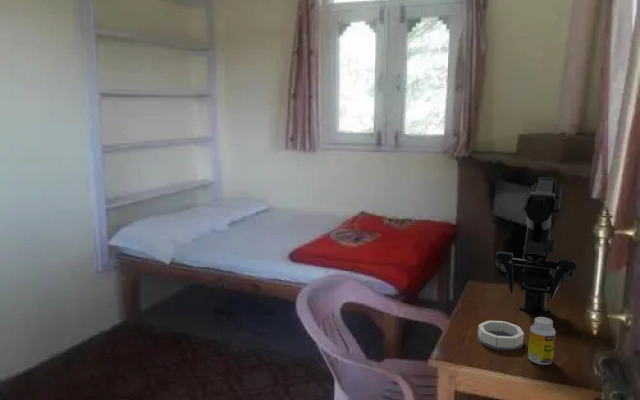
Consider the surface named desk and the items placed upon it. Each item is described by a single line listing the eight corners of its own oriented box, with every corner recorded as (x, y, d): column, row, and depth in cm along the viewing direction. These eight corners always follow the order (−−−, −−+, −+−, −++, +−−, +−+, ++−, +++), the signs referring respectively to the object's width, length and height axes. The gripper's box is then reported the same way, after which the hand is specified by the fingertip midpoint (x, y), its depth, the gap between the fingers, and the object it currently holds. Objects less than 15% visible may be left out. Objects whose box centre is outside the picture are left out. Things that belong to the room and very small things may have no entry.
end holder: (493, 327, 145) (494, 316, 144) (531, 341, 136) (532, 330, 136) (468, 338, 138) (469, 327, 137) (507, 354, 129) (508, 342, 129)
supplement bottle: (543, 368, 123) (547, 326, 121) (522, 358, 127) (525, 318, 125) (557, 362, 126) (561, 321, 124) (537, 352, 130) (540, 313, 128)
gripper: (497, 222, 135) (489, 280, 129) (579, 230, 127) (573, 293, 121) (500, 238, 144) (492, 293, 139) (576, 247, 136) (571, 306, 131)
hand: (530, 296), depth 132 cm, fingers open, 9 cm apart
